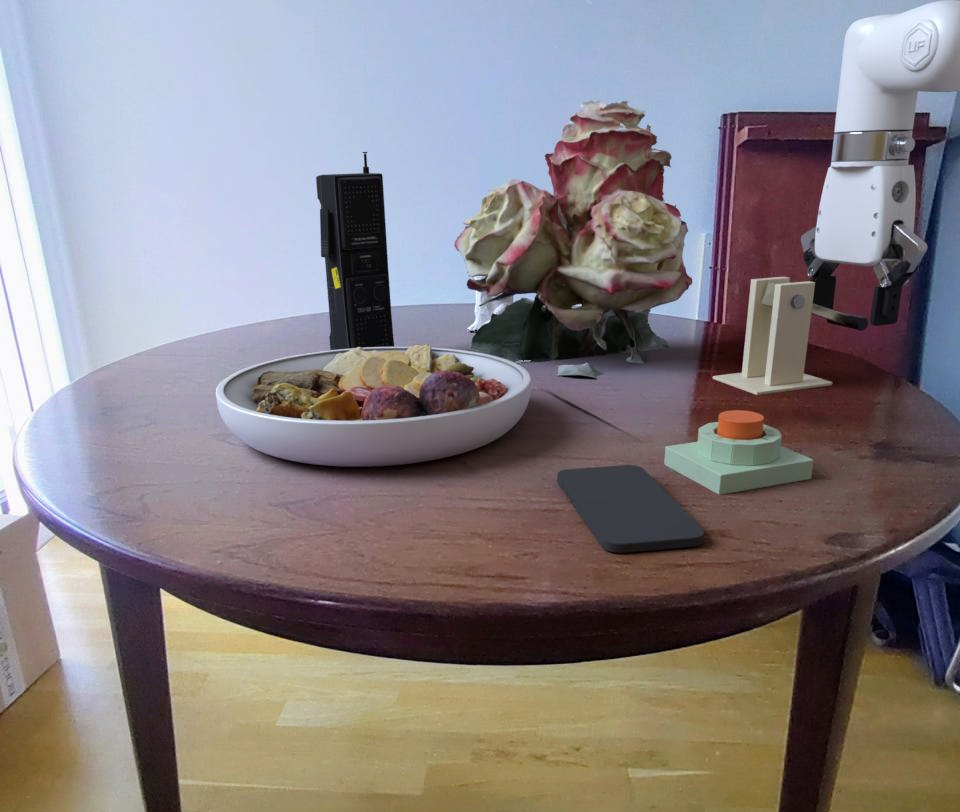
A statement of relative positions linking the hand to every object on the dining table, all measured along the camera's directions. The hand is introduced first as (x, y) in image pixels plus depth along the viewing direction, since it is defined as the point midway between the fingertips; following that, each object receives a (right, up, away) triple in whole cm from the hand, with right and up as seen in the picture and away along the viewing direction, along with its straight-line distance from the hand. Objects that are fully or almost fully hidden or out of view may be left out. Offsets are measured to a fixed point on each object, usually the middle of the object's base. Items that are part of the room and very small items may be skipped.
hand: (850, 318), depth 100 cm
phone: (-30, -22, -32) cm, 49 cm away
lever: (-5, 0, -1) cm, 5 cm away
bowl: (-51, -14, -11) cm, 54 cm away
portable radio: (-57, -2, +17) cm, 59 cm away
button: (-20, -16, -26) cm, 36 cm away
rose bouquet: (-28, -2, +14) cm, 31 cm away
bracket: (-9, -8, 0) cm, 12 cm away
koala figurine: (-40, +6, +35) cm, 53 cm away
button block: (-20, -19, -25) cm, 37 cm away
